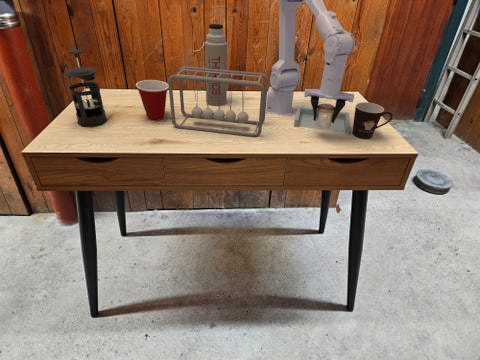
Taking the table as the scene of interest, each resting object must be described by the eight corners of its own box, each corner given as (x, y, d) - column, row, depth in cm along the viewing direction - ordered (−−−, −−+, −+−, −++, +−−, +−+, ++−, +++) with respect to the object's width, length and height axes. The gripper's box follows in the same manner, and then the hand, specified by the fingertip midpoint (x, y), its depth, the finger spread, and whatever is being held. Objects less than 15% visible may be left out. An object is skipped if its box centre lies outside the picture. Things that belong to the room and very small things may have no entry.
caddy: (293, 127, 110) (294, 119, 108) (296, 113, 120) (297, 105, 118) (348, 134, 107) (350, 126, 105) (347, 119, 117) (348, 111, 115)
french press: (99, 129, 104) (81, 56, 90) (71, 127, 104) (49, 54, 91) (114, 114, 113) (99, 46, 100) (88, 112, 114) (70, 44, 100)
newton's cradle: (264, 124, 111) (269, 73, 101) (260, 138, 103) (265, 84, 93) (182, 115, 115) (178, 65, 105) (172, 128, 107) (166, 74, 96)
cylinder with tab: (314, 130, 100) (317, 112, 96) (315, 120, 105) (318, 102, 101) (331, 132, 99) (334, 114, 95) (331, 121, 104) (335, 104, 100)
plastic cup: (174, 122, 110) (170, 88, 103) (141, 125, 107) (136, 90, 100) (170, 110, 118) (167, 77, 111) (140, 112, 116) (135, 79, 109)
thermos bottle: (222, 107, 122) (222, 27, 106) (203, 104, 124) (200, 25, 107) (229, 100, 128) (230, 23, 112) (210, 97, 130) (209, 21, 114)
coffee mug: (345, 137, 105) (353, 109, 99) (351, 127, 111) (358, 100, 106) (382, 146, 101) (392, 117, 95) (386, 135, 107) (395, 107, 101)
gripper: (306, 79, 91) (299, 122, 99) (358, 84, 89) (347, 129, 97) (308, 72, 97) (301, 113, 105) (357, 77, 95) (346, 119, 102)
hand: (323, 120), depth 101 cm, fingers closed on cylinder with tab, 5 cm apart
